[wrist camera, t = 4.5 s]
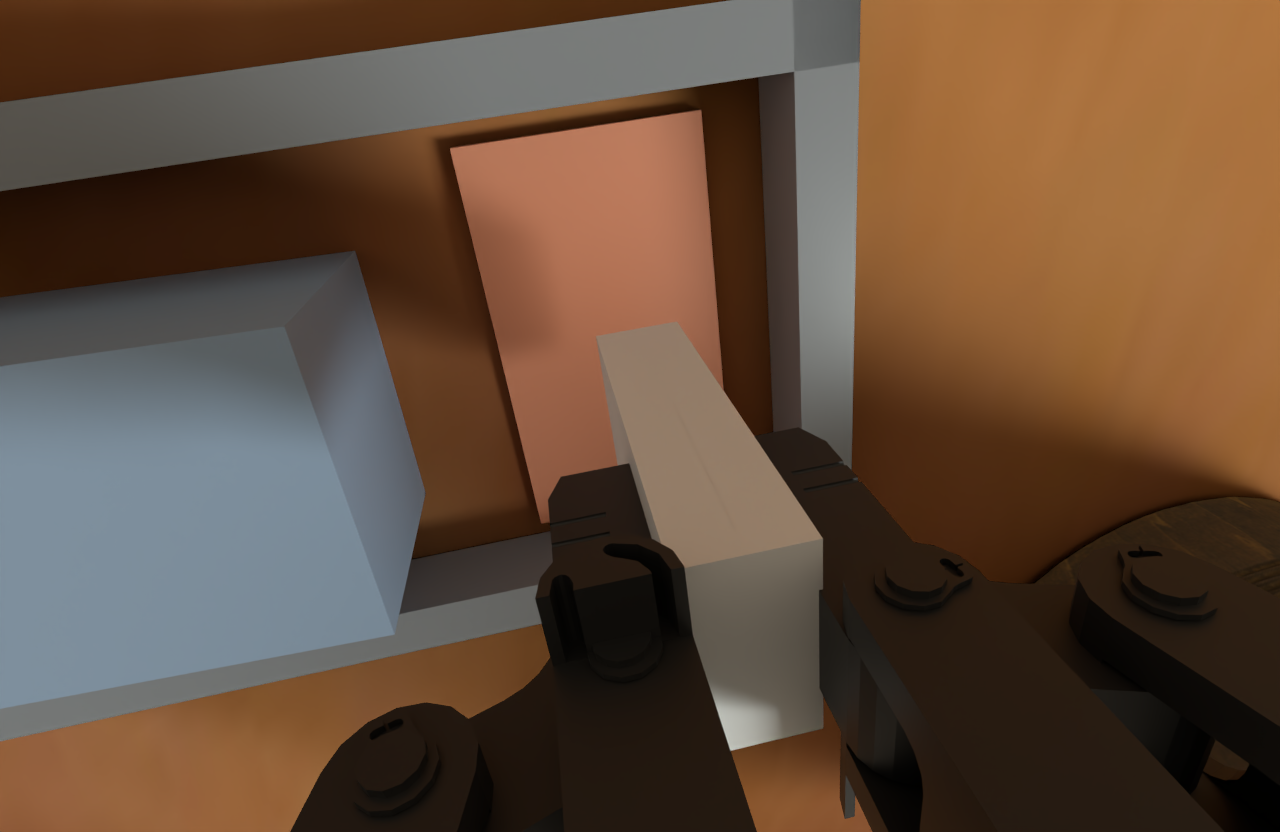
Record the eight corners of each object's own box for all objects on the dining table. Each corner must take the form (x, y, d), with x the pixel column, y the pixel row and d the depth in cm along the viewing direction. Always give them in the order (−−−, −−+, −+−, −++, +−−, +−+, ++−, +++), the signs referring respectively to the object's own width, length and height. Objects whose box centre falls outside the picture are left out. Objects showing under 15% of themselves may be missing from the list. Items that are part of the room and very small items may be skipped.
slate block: (-6, 561, 16) (-209, 748, 11) (-173, 318, 13) (-526, 440, 9) (426, 489, 17) (394, 634, 12) (356, 248, 14) (283, 326, 10)
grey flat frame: (-18, 688, 17) (-80, 758, 15) (-447, 173, 11) (-627, 190, 9) (818, 512, 19) (849, 556, 17) (814, -5, 13) (860, -18, 11)
